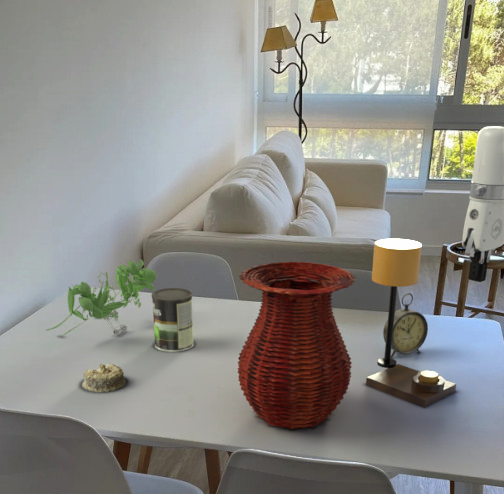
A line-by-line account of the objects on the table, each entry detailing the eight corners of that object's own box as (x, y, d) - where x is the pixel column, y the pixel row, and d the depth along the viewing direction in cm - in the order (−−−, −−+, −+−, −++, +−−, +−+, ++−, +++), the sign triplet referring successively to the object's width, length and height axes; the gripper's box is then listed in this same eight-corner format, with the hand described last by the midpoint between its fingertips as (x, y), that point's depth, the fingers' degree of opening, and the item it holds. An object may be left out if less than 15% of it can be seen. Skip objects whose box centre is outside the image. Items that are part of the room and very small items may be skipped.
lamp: (417, 365, 163) (431, 244, 151) (391, 376, 157) (403, 251, 145) (382, 353, 170) (393, 236, 158) (356, 363, 164) (365, 243, 152)
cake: (134, 386, 163) (134, 365, 160) (98, 400, 156) (97, 378, 154) (109, 371, 168) (108, 350, 166) (73, 383, 162) (71, 362, 159)
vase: (261, 384, 162) (263, 255, 149) (361, 402, 154) (372, 267, 141) (218, 428, 143) (216, 284, 130) (329, 450, 135) (339, 299, 122)
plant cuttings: (57, 376, 183) (110, 337, 171) (18, 321, 181) (69, 277, 169) (130, 333, 212) (180, 297, 200) (97, 285, 210) (146, 246, 198)
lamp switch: (441, 381, 156) (442, 374, 155) (430, 386, 154) (431, 378, 153) (426, 375, 159) (426, 368, 158) (415, 380, 156) (416, 373, 155)
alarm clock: (389, 361, 175) (395, 298, 168) (377, 354, 180) (383, 292, 173) (426, 355, 179) (433, 293, 172) (413, 348, 184) (420, 287, 177)
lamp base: (455, 392, 159) (457, 376, 157) (424, 408, 152) (426, 391, 150) (397, 372, 170) (398, 356, 168) (365, 385, 162) (366, 370, 160)
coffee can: (158, 354, 179) (155, 301, 173) (151, 341, 188) (148, 289, 182) (198, 350, 182) (196, 297, 176) (189, 337, 191) (187, 286, 184)
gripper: (486, 198, 136) (473, 290, 144) (524, 190, 145) (510, 277, 153) (452, 193, 141) (441, 283, 149) (492, 186, 150) (479, 270, 158)
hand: (476, 280), depth 151 cm, fingers closed
